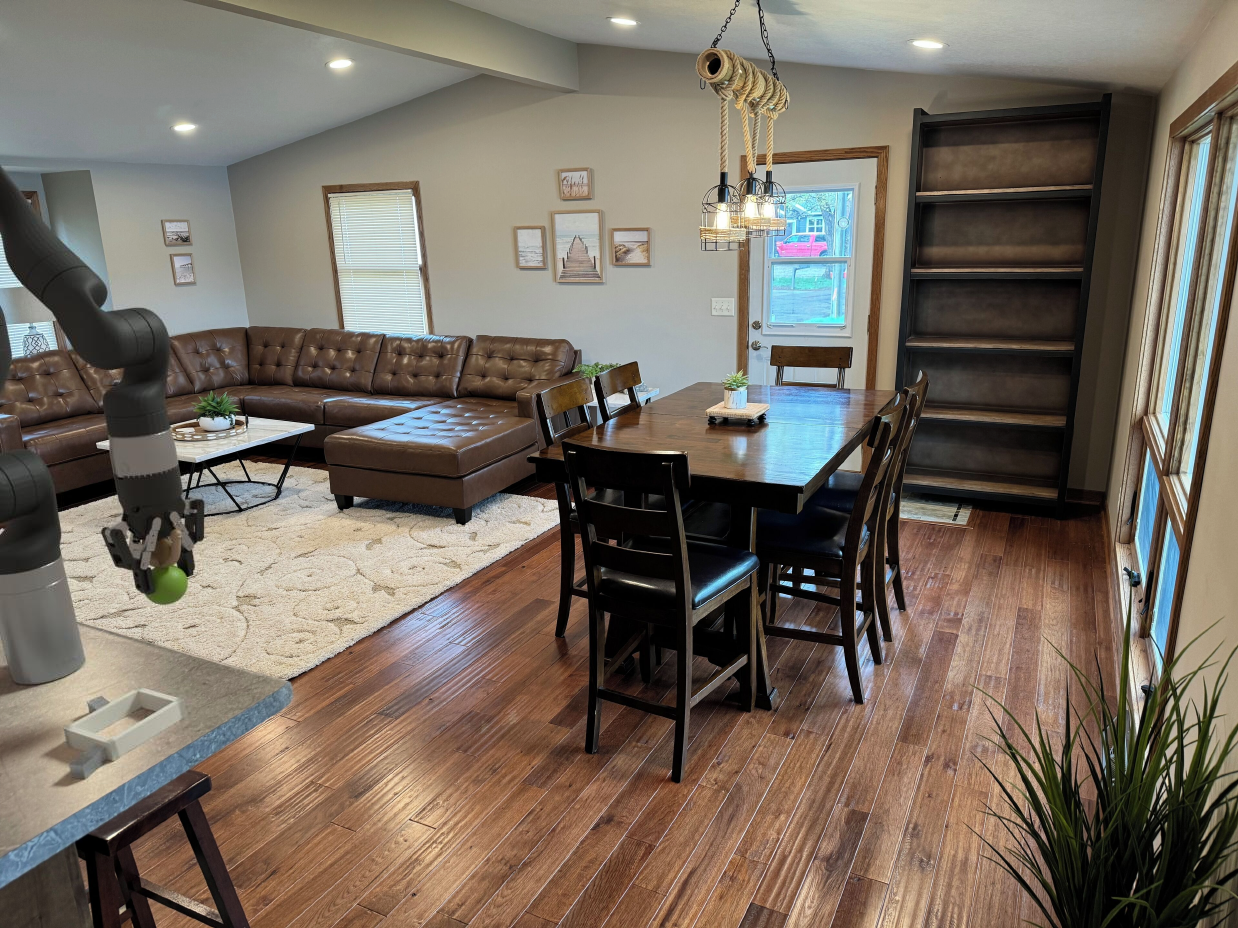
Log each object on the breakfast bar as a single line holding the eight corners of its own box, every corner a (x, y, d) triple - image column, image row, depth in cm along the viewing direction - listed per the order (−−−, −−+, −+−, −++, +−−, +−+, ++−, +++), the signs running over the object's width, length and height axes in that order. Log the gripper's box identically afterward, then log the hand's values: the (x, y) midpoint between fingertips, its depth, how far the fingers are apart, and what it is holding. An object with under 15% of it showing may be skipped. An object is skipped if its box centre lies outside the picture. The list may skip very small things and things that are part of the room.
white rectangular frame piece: (12, 755, 106) (7, 738, 105) (120, 696, 119) (117, 680, 118) (81, 781, 101) (77, 762, 100) (187, 716, 114) (184, 699, 113)
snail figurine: (178, 613, 113) (163, 529, 110) (137, 609, 114) (120, 526, 111) (205, 596, 118) (192, 515, 115) (165, 592, 119) (150, 512, 116)
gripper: (173, 448, 118) (192, 560, 123) (73, 477, 106) (98, 601, 111) (212, 453, 115) (230, 568, 120) (114, 484, 103) (138, 611, 108)
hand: (167, 583), depth 115 cm, fingers closed on snail figurine, 5 cm apart
